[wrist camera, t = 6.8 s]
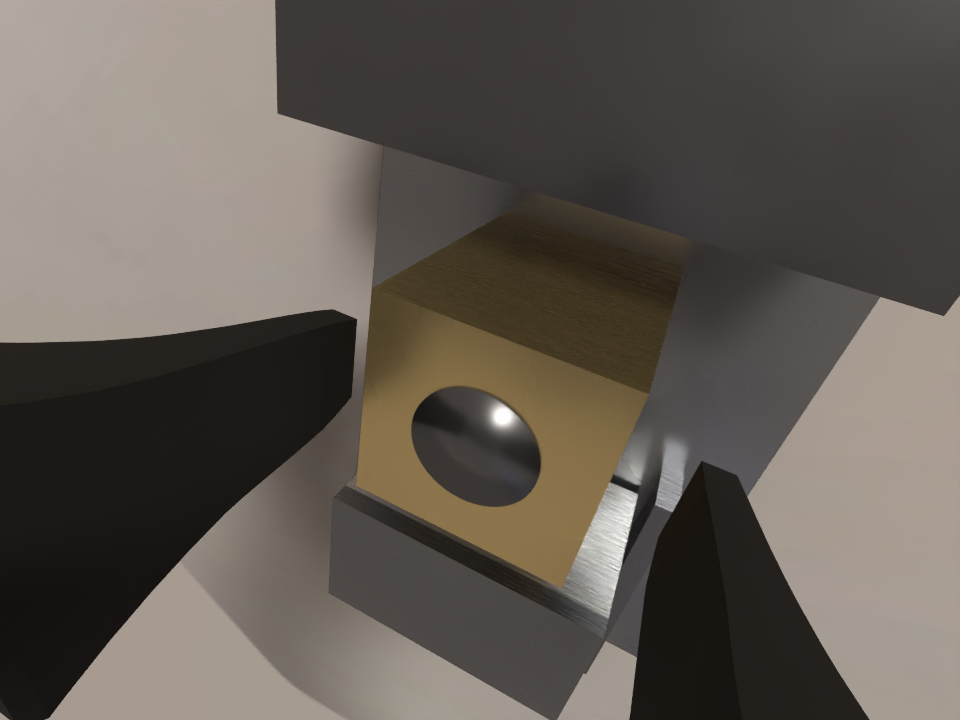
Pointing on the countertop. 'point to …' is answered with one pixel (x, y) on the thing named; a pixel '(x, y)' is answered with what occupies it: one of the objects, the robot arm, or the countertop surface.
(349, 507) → the block
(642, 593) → the press bed
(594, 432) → the housing
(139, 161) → the countertop surface
